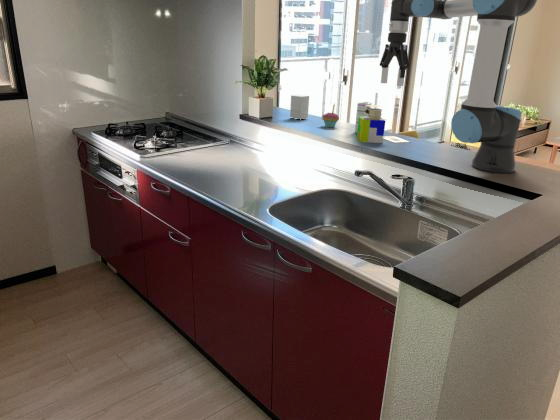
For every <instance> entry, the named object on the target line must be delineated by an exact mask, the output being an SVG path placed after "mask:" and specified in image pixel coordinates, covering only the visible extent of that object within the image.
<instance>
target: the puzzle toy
mask: <svg viewBox="0 0 560 420" xmlns="http://www.w3.org/2000/svg"><path fill="white" fill-rule="evenodd" d="M360 117H368V116H359V122H358V131H357V135H356V139H357V140H358V141H359V142H360V143H374V144H383V143H384V139H383V136H384V135H385V127H386V126H385V125H386V119H385V120H365V119H363V118H360Z"/></svg>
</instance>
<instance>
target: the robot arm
mask: <svg viewBox="0 0 560 420" xmlns="http://www.w3.org/2000/svg"><path fill="white" fill-rule="evenodd" d="M537 1H538V0H391V5H390V17H389V18H390V19H389V25H388V26H389V27H388V36H387V42H388V43H386V44H385V47H384V51H383V54H382V57H381V60H380V62H379V66H380V67H381V69H382V70H381V75H380V76H381V78H380V84H388V77H389V68H390V67H389V66H390V63H391V61H392V60H393V58H394V57H395V58H396V60H397V64H398V70H397V71H398V73H397V82H396V87H404V82H405V77H406V76H405V75H406V71H407V70H408V69H410V63H409V55H408V44H404V43H406V42H407V32H408V28H409V27H408V25H409V19H410V18H411V17H413V18H427V19H428V18H429V19H440V20H450V19H451V20H452V19H453V18H460V17H461V18H463V17H475V16H476V22H477V23H478V25H480V26H479V32H478V38H477V44H476V49H475V55H474V59H473V65H472V70H471V74H470V75H471V76H470V81H469V86H468V93H467V97H466V99H465V100H463V101H462V102H461V107H460V109H459V110H457V111H456V112H455V114H453V116H452V117H451V122H450V127H451V131H452V134H453V135H454V136H455V138H456V139H457V140H458V141H459V142H461V143H465V144H476V143H480V146H479V148H478V149H477V152H476V153H475V156H474V157H473V158H472V161H471V167H474V168H475V169H478V170H481V171H485V172H490V173H499V174H509V173H510V174H511V173H513V172H515V169H516V162H515V161H516V160H515V159H516V158H515V147H516V142H517V137H518V133H519V129H520V124H521V121H522V111H521V109H518V108H514V107H513V108H512V107H506V106H502V105H497V104H496V103H495V101H494V99H495V94H496V91H497V90H496V89H497V86H498V85H497V84H498V79H499V74H500V69H501V64H502V59H503V54H504V50H505V43H506V39H507V35H508V29H509V27H510V26H511V25H513V23H515V19H516V18H517V17H522V16H524V15H527V14H528V13H530V12H531V11H532V10H533V8H534V7H535V6H536V4H537ZM409 17H410V18H409Z"/></svg>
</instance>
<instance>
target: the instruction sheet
mask: <svg viewBox="0 0 560 420" xmlns="http://www.w3.org/2000/svg"><path fill="white" fill-rule="evenodd" d="M383 140H385V141H388V142H391V143H394V144H399V143H400V144H401V143H410V141H409V140H407V139H403V138H401V137H398V136H396V135H386V136H383Z"/></svg>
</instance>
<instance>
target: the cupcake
mask: <svg viewBox="0 0 560 420" xmlns="http://www.w3.org/2000/svg"><path fill="white" fill-rule="evenodd" d="M335 103H336V102H334V103H333V107H332V111H331V112H327V113H325V114H323V115H322V116H321V117H322V119H321V120H323V122H324V127H325V128H329V127H333V128H335V126H336V124H337V123H338V121H339V119H340V116H339V115H338V114H336V113H334V111H335V106H336V104H335Z"/></svg>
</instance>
